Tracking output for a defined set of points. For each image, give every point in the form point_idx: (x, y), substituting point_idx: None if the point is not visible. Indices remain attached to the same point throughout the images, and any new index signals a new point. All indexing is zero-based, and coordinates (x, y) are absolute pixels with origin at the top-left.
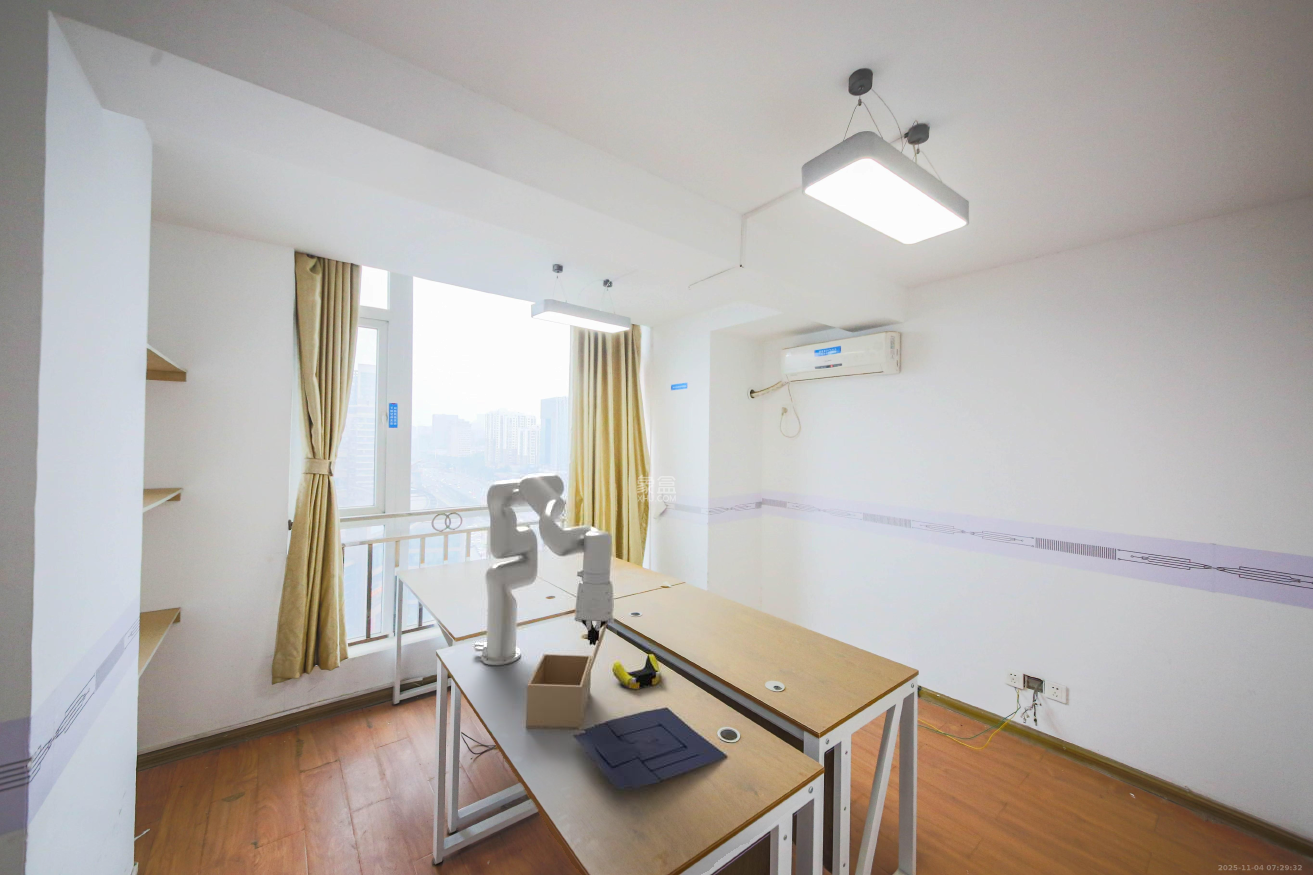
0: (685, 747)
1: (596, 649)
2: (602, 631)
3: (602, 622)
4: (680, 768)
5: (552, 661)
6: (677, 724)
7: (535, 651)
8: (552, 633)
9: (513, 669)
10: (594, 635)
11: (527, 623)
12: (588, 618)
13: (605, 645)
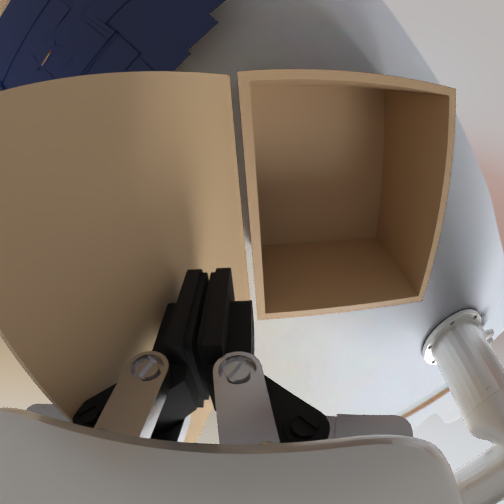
0: (1, 82)
1: (103, 105)
2: (76, 320)
3: (93, 416)
4: (7, 17)
5: (388, 285)
6: None
7: (395, 365)
8: (364, 409)
9: (436, 306)
10: (181, 313)
11: (402, 415)
12: (222, 472)
13: None
